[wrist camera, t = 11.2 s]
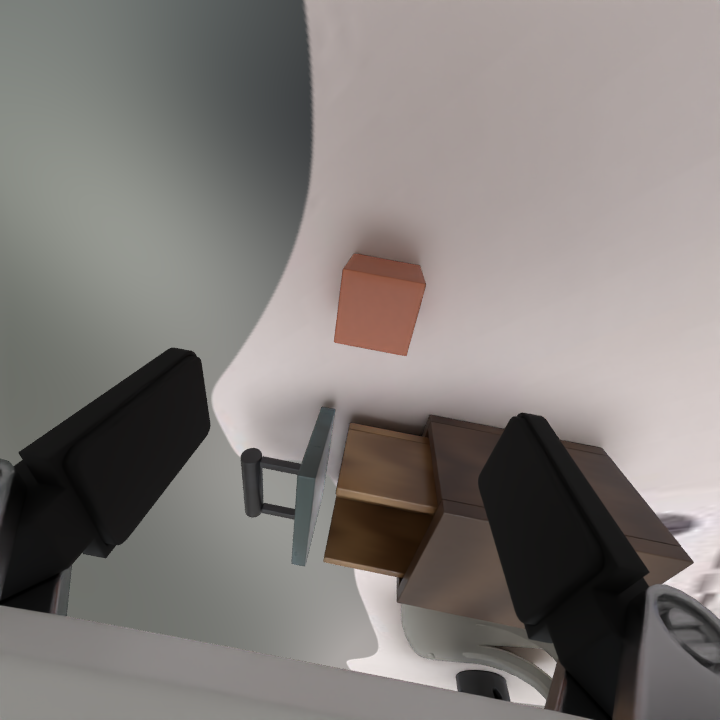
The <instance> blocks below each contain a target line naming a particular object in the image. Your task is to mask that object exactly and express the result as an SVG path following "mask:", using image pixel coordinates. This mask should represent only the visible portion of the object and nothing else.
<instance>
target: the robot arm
mask: <svg viewBox="0 0 720 720" xmlns="http://www.w3.org/2000/svg"><path fill="white" fill-rule="evenodd" d="M209 429H210V418H209V412H208V405H207V398H206V391H205V384H204V377H203V370H202V363H201V359H200V358H199V357H197V356H196V354H195V353H194V352H192V351H189V350H184V349H178V348H170V349H168V350H166V351H165V352H164V353H162V354H161V355H159V356H158V357H156V358H155V359H153V360H152V361H150V362H149V363H147V364H146V365H145V366H143V367H142V368H140V369H139V370H137V371H136V372H134V373H133V374H132V375H130V376H129V377H127V378H126V379H124V380H123V381H121V382H120V383H119V384H117V385H116V386H114V387H113V388H111V389H110V390H108V391H107V392H106V393H104V394H103V395H101V396H100V397H98V398H97V399H95V400H94V401H93V402H91V403H89V404H88V405H87V406H85V407H84V408H82V409H81V410H79V411H78V412H76V413H75V414H74V415H72V416H71V417H69V418H68V419H66V420H65V421H63V422H62V423H60V424H59V425H58V426H56V427H55V428H53V429H52V430H50V431H49V432H47V433H46V434H45V435H43V436H42V437H40V438H39V439H37V440H36V441H34V442H33V443H32V444H30V445H29V446H27V447H26V448H24V449H23V450H21V451H20V452H19V454H20V456H21V458H22V459H23V460H22V461H21V462H19V463H18V464H16V465H15V466H13V465H12V464H11V463H10V462H9V461H7V460H3V459H0V720H720V619H718V618H717V617H716V616H715V615H714V614H713V613H712V612H711V611H710V610H709V609H707V608H706V607H705V606H703V605H702V604H701V603H700V602H698V601H697V600H696V599H694V598H692V597H691V596H689V595H687V594H686V593H684V592H682V591H681V590H679V589H676V588H673V587H671V586H668V585H662V584H655V585H653V586H651V587H649V585H648V584H647V582H646V581H645V579H644V578H643V577H644V576H646V575H647V574H648V573H650V572H649V570H648V569H647V567H646V566H645V564H644V563H643V561H642V560H641V558H640V557H639V556H638V554H637V553H636V551H635V550H634V548H633V547H632V545H631V544H630V542H629V541H628V539H627V538H626V536H625V535H624V533H623V532H622V531H621V529H620V528H619V526H618V525H617V523H616V522H615V520H614V519H613V517H612V516H611V514H610V513H609V511H608V510H607V508H606V507H605V506H604V504H603V503H602V501H601V500H600V498H599V497H598V495H597V494H596V492H595V491H594V489H593V488H592V486H591V485H590V484H589V482H588V481H587V479H586V478H585V476H584V475H583V473H582V472H581V470H580V469H579V467H578V466H577V464H576V463H575V461H574V460H573V459H572V457H571V456H570V454H569V453H568V451H567V450H566V448H565V447H564V445H563V444H562V442H561V441H560V439H559V438H558V436H557V435H556V434H555V432H554V431H553V429H552V428H551V426H550V425H549V423H548V422H547V420H546V419H545V418H544V417H542V416H538V415H532V414H527V413H520V414H518V415H517V416H514V417H512V418H511V419H510V421H509V422H508V424H507V426H506V428H505V430H504V431H503V433H502V435H501V437H500V439H499V440H498V442H497V444H496V446H495V448H494V449H493V451H492V453H491V455H490V456H489V458H488V460H487V462H486V464H485V465H484V467H483V469H482V471H481V473H480V474H479V477H478V487H479V491H480V494H481V497H482V501H483V504H484V508H485V511H486V515H487V518H488V521H489V525H490V528H491V532H492V535H493V538H494V542H495V545H496V549H497V552H498V556H499V559H500V562H501V566H502V569H503V573H504V576H505V579H506V583H507V586H508V590H509V593H510V596H511V600H512V603H513V607H514V610H515V613H516V616H517V617H518V619H519V620H520V621H521V622H522V623H524V626H525V629H526V633H527V636H528V639H530V640H535V641H540V642H545V643H550V644H552V643H553V645H554V648H555V650H556V653H557V656H558V661H557V664H556V668H555V671H554V675H553V679H552V682H551V686H550V690H549V693H548V697H547V700H546V704H545V708H544V709H542V708H538V707H534V706H528V705H523V704H518V703H513V702H508V701H503V700H498V699H493V698H488V697H483V696H478V695H473V694H468V693H463V692H458V691H453V690H448V689H443V688H438V687H433V686H428V685H423V684H418V683H413V682H408V681H403V680H398V679H393V678H387V677H382V676H377V675H372V674H367V673H362V672H357V671H351V670H346V669H340V668H335V667H330V666H326V665H320V664H315V663H310V662H305V661H300V660H294V659H289V658H284V657H279V656H274V655H268V654H263V653H258V652H253V651H248V650H243V649H237V648H232V647H227V646H221V645H217V644H211V643H206V642H201V641H195V640H190V639H185V638H179V637H174V636H169V635H163V634H158V633H153V632H148V631H142V630H137V629H132V628H126V627H121V626H115V625H110V624H104V623H100V622H94V621H89V620H83V619H78V618H73V617H67V607H68V598H69V589H70V579H71V570H72V564H73V563H74V562H75V560H76V559H77V558H78V557H79V556H80V555H81V553H83V554H86V555H91V556H97V557H102V558H107V556H108V555H109V554H110V552H111V551H112V550H113V549H114V547H115V546H116V545H120V544H122V543H123V542H124V541H125V540H126V539H127V538H128V537H129V536H130V535H131V533H132V532H133V531H134V530H135V528H136V527H137V526H138V524H139V523H140V522H141V521H142V519H143V518H144V517H145V515H146V514H147V513H148V511H149V510H150V509H151V508H152V506H153V505H154V504H155V502H156V501H157V500H158V498H159V497H160V496H161V495H162V493H163V492H164V491H165V489H166V488H167V487H168V485H169V484H170V482H171V481H172V480H173V479H174V478H175V476H176V475H177V474H178V473H179V471H180V470H181V469H182V467H183V466H184V465H185V463H186V462H187V461H188V459H189V458H190V457H191V455H192V454H193V453H194V452H195V450H196V449H197V448H198V446H199V445H200V443H202V441H203V440H204V439H205V437H206V436H207V435H208V432H209Z"/></svg>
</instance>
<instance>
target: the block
mask: <svg viewBox="0 0 720 720" xmlns="http://www.w3.org/2000/svg"><path fill="white" fill-rule="evenodd" d="M425 287H426V283H425V280H424V276H423V273H422V270H421V267H420V266H419V265H414V264H409V263H403V262H398V261H393V260H387V259H382V258H377V257H371V256H366V255H360V254H353V256H352V257H351V258H350V260H349V261H348V263H347V264H346V265H345V267H344V268H343V272H342V280H341V288H340V296H339V304H338V312H337V321H336V329H335V337H334V342H335V343H340V344H345V345H350V346H355V347H361V348H366V349H371V350H376V351H382V352H387V353H392V354H397V355H402V356H406V355H407V352H408V348H409V345H410V341H411V338H412V334H413V330H414V327H415V323H416V319H417V316H418V312H419V309H420V305H421V301H422V298H423V294H424V291H425Z"/></svg>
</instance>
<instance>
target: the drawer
mask: <svg viewBox="0 0 720 720" xmlns="http://www.w3.org/2000/svg"><path fill="white" fill-rule="evenodd" d="M334 416H335V409H331V408H326V407H321V410H320V413H319V415H318V418H317V421H316V424H315V427H314V430H313V432H312V435H311V438H310V441H309V444H308V447H307V449H306V452H305V455H304V458H303V461H302V464H299V463H294V462H289V461H284V460H279V459H274V458H269V457H264V456H263V457H262V453H261V451H260V450H259V449H256V448H250V449H247V450H245V451H244V452H243V453H242V455H241V466H242V479H243V490H244V503H245V513H246V515H247V516H249V517H257V516H259V515H260V514H261V513H265V514H271V515H275V516H280V517H285V518H290V519H294V534H293V548H292V564H296V565H300V566H305V565H306V561H307V557H308V553H309V549H310V545H311V541H312V537H313V533H314V529H315V525H316V520H317V517H318V512H319V508H320V504H321V500H322V496H323V491H324V484H325V477H326V471H327V464H328V457H329V450H330V443H331V436H332V429H333V423H334ZM262 468H266V469H271V470H276V471H281V472H286V473H291V474H296V475H297V489H296V505H295V509H292V508H287V507H282V506H277V505H272V504H267V503H264V504H263V474H262ZM437 509H438V503H437V496H436V488H435V480H434V473H433V465H432V457H431V449H430V442H429V438H427V437H422V436H417V435H411V434H406V433H401V432H396V431H391V430H386V429H381V428H376V427H371V426H366V425H360V424H355V423H350V425H349V430H348V435H347V440H346V444H345V449H344V454H343V459H342V464H341V469H340V474H339V479H338V483H337V488H336V500H335V505H334V510H333V515H332V520H331V525H330V530H329V535H328V540H327V545H326V550H325V555H324V560H323V561H324V562H326V563H331V564H336V565H340V566H345V567H350V568H355V569H360V570H365V571H370V572H375V573H380V574H384V575H389V576H394V577H399V578H403V577H404V575H405V573H406V571H407V569H408V567H409V565H410V563H411V561H412V559H413V557H414V555H415V553H416V551H417V549H418V547H419V545H420V543H421V541H422V539H423V537H424V535H425V533H426V531H427V529H428V527H429V525H430V523H431V521H432V519H433V517H434V515H435V513H436V511H437Z"/></svg>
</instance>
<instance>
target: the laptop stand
mask: <svg viewBox="0 0 720 720" xmlns="http://www.w3.org/2000/svg"><path fill="white" fill-rule="evenodd" d="M401 619H402V625H403V629H404V632H405V635H406V638H407V640H408V642H409V643H410V645H411V647H412V648H413V650H414V651H415V652H416V653H417V654H418V655H419V656H421V657H423V658H427V659H432V660H440V661H452V662H464V663H476V664H481V665H486V666H490V667H494V668H497V669H500V670H503V671H506V672H508V673H510V674H512V675H514V676H516V677H518V678H520V679H522V680H523V681H525V682H527V683H528V684H530V685H531V686H532V687H534V688H535V689H536V690H537V691H538V692H539V693H540V694H541V695H542V696H543V697H544V698H545V699H546V700H547V697H548V693H549V690H550V686H551V682H552V678H551V677H550V676H549V675H548V674H546V673H545V672H544V671H543V670H542V669H540V668H539V667H537V666H536V665H534V664H533V663H531V662H529V661H527V660H525V659H524V658H522V657H520V656H518V655H515V654H513V653H511V652H508V651H506V650H503V649H499V648H496V647H492V646H508V647H525V648H542V649H543V650H545V651H546V652H547V653H548V654H549V655H550V656H551V657H553V659H554V660H555V661H556V662H557V661H558V656H557V653H556V650H555V648H554V645H553V643H552V644H550V643H545V642H540V641H535V640H530V639H528V636H527V633H526V629H522V628H517V627H512V626H507V625H503V624H498V623H493V622H488V621H483V620H478V619H473V618H469V617H464V616H459V615H454V614H449V613H444V612H440V611H435V610H430V609H425V608H420V607H415V606H410V605H406V604H402V605H401ZM487 645H492V646H487Z"/></svg>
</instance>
